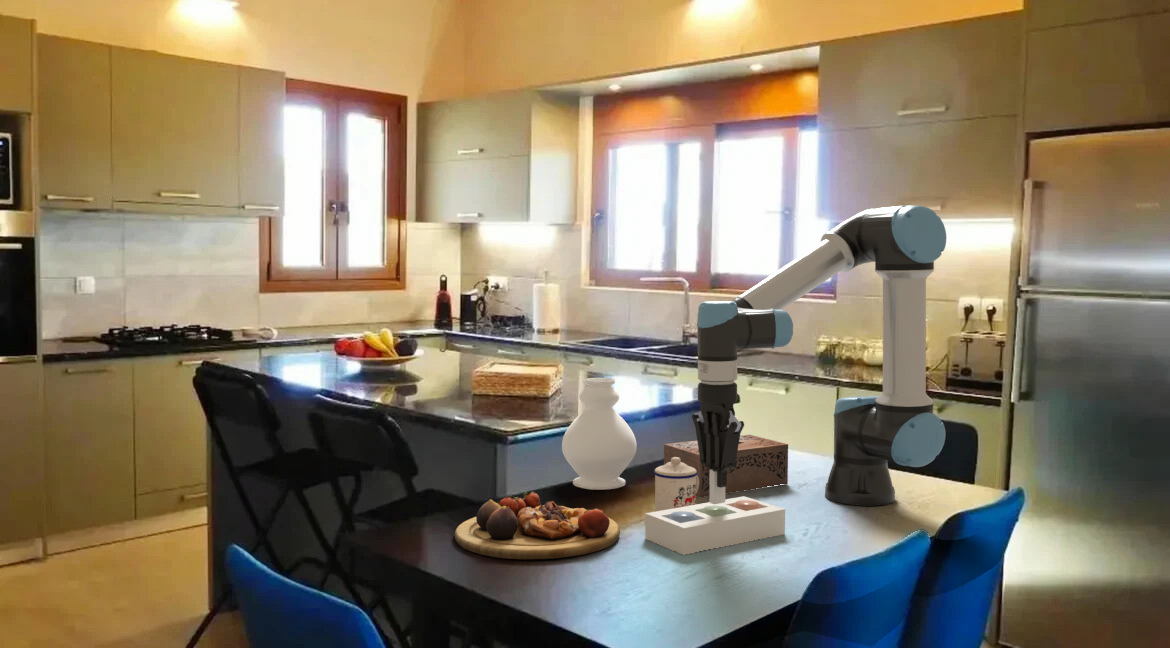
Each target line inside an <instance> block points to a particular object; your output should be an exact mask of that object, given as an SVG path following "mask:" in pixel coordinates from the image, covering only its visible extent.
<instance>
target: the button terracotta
mask: <svg viewBox="0 0 1170 648" xmlns="http://www.w3.org/2000/svg"><path fill="white" fill-rule="evenodd" d="M735 508H738V509H741V510H744V511H749V510H754V509H759V503H758V502H755V501H750V500H741V501H737V502H735Z"/></svg>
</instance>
